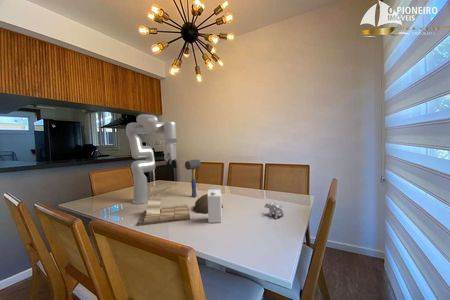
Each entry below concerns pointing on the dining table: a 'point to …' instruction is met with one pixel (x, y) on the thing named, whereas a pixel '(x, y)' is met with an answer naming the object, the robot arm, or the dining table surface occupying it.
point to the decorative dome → (202, 205)
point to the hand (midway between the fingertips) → (171, 169)
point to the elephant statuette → (274, 209)
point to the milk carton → (214, 205)
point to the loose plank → (153, 206)
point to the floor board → (166, 215)
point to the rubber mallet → (193, 173)
